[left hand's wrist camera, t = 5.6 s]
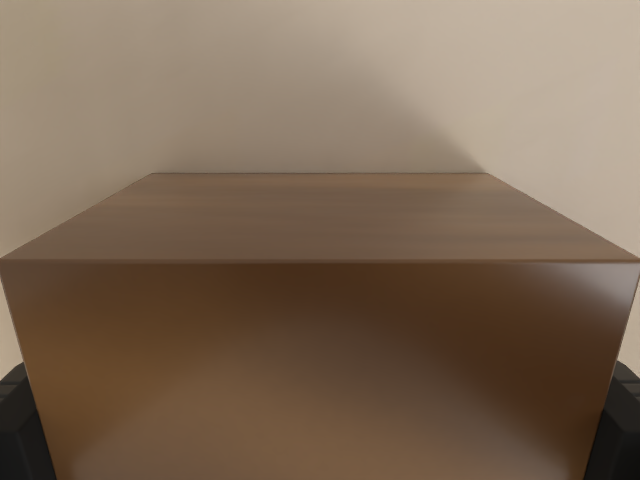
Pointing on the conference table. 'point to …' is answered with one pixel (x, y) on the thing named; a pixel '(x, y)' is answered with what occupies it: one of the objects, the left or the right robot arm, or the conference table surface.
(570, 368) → the slab
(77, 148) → the conference table surface
